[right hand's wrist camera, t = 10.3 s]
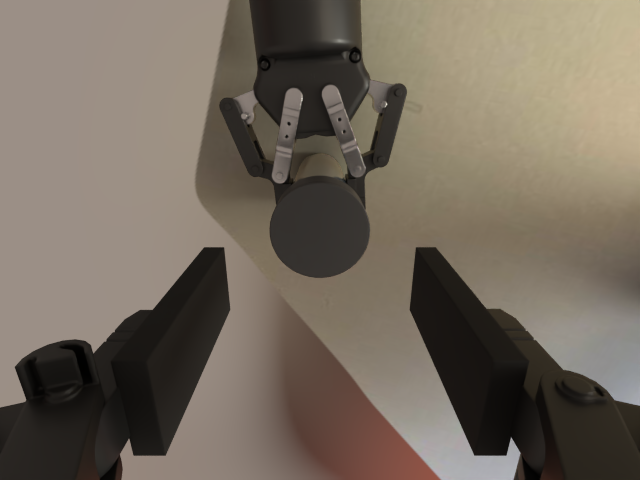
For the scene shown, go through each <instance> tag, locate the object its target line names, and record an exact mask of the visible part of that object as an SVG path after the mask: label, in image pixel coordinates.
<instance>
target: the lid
mask: <svg viewBox="0 0 640 480" xmlns="http://www.w3.org/2000/svg"><path fill="white" fill-rule="evenodd" d="M369 237H370V224H369V219H368V216H367V213H366V211H365V208H364V206H363V204H362V202H361V200H360V198H359V196H358V195H357V193H356V192H355V191H354V190H353V189H352V188H351V187H350V186H349V185H348V184H346V183H344V182H343V181H341V180H339V179H336V178H333V177H329V176H310V177H306V178H303V179H301V180H299V181H297V182H295V183H294V184H292V185H291V186H290V187H289V188H287V189H286V190H285V192H284V193H283V194H282V196H281V197H280V199H279V201H278V203H277V205H276V208H275V210H274V212H273V215H272V218H271V222H270V239H271V243H272V246H273V248H274V250H275V252H276V254H277V256H278V257H279V258H280V260H281V261H282V262H283V263H284V264H285V265H286V266H287V267H289V268H290V269H292V270H293V271H295V272H297V273H299V274H302V275H305V276H308V277H315V278H324V277H331V276H335V275H338V274H340V273H343V272H345V271H346V270H348V269H349V268H351V267H352V266H353V265H354V264H356V263H357V261H358V260H359V259H360V258H361V257H362V255H363V254H364V252H365V250H366V247H367V245H368V241H369Z"/></svg>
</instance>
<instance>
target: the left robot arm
mask: <svg viewBox="0 0 640 480" xmlns="http://www.w3.org/2000/svg"><path fill="white" fill-rule="evenodd" d="M249 1H250V9H251V17H252V25H253V33H254V41H255V49H256V57H257V65H258V72H257V77H256V80H255V83H254V88H253V90H252V91H249V92H247V93H245V94H242V95H240V96H237V97H235V98H224V99H222V100H221V102H220V110H221V112H222V115H223V117H224V119H225V121H226V124H227V126H228V128H229V130H230V132H231V135H232V137H233V139H234V141H235V144H236V146H237V148H238V150H239V153H240V155H241V157H242V159H243V161H244V164H245V166H246V168H247V170H248V173H249V174H250V175H251V176H254V177H258V176H259V177H262V178H266V179H269V180H270V181H271V182H272V183H273V185H274V190H275V198H276V205H277V203H278V201H279V199H280V197H281V196H282V194H283V193H284V192H285V190H286V189H287V188H289V187H290V186H291V185H292V184H293V178H291V179H290V169H291V164H292V159H293V154H294V150H295V145H296V140H297V139H301V138H307V137H310V136H312V135H315V134H316V135H322V136H336V137H337V140H338V142H339V145H340V148H341V150H342V153H343V156H344V158H345V161H346V164H347V171H348V174H345V180H346V184H348V185H349V186H350V187H351V188H352V189H353V190H354V191H355V192H356V193H357V195H358V196H359V198H360V200H361V202H362V204H363V206H364V208H365V181H364V180H365V176H366V174H367V173H368V172H369V171H371V170H373V169H375V168H378V167H384V166H386V165H387V163H388V161H389V157H390V154H391V150H392V146H393V143H394V139H395V135H396V132H397V128H398V124H399V120H400V117H401V113H402V109H403V106H404V102H405V98H406V94H407V90H406V87H405V86H404V85H403V84H393V85H391V84H387V83H383V82H378V81H374V80H370V76H369V74H368V72H367V70H366V69H365V66H364V63H363V58H362V34H361V5H360V0H249ZM366 94H369V95H370V96H371V97H372V100H373V103H372V107H373V109H374V111H375V112H377V113H379V116H378V120H377V124H376V128H375V132H374V136H373V140H372V144H371V148H370V151H368V152H366V153H364V154H362V155H361V154H360V151H359V148H358V145H357V141H356V139H355V136H354V133H353V130H352V127H351V125H350V121H351V119H352V118H353V116H354V114H355V113H356V111H357V109H358V108H359V106H360V104H361V103H362V101H363V99H364V98H365V96H366ZM258 103H259V104H260V105H261V106H262V107H263V108H264V109H265V111H266V112H267V113H268V114H269V115H270V117H271V118H272V119H273V120H274V121H275V122H276V124H277V125H278V126H279V127H280V129H279V135H278V140H277V146H276V154H275V160H274V161H270V160H266V158H265V156H264V154H263V151H262V149H261V147H260V144H259V142H258V140H257V137H256V135H255V133H254V130H253V128H252V125H251V123H253V122H254V121H255V119H256V113H255V107H256V105H257V104H258ZM365 209H366V208H365Z"/></svg>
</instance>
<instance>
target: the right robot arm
mask: <svg viewBox="0 0 640 480" xmlns="http://www.w3.org/2000/svg"><path fill="white" fill-rule="evenodd" d="M229 311H230V303H229V292H228V282H227V272H226V262H225V252H224V247H205V248H203V250H202V251H201V252H200V253H199V254H198V256H197V257H196V258H195V259H194V260H193V262H192V263H191V264H190V265H189V267H188V268H187V269H186V270H185V271H184V273H183V274H182V275H181V276H180V277H179V279H178V280H177V281H176V282H175V284H174V285H173V286H172V287H171V288H170V290H169V291H168V292H167V293H166V294H165V296H164V297H163V298H162V299H161V301H160V302H159V303H158V304H157V305H156V307H155V308H154V309H153V310H139V311H138V312H136V313H135V314H133V315H131V316H130V317H128V318H126V319H125V320H124V321H123V322H122V323H121V324H120V325H119V326H118V328H117V329H116V330H115V332H113V333H112V334H111V335H110V336H109V337H108V338H107V341H106V342H104V343H103V344H102V345H101V346H100V347H99V348H98V349H97V350H96V351H95V353H94V354H93V352H92V348H91V345H90V344H89V343H87V342H86V341H82V340H65V341H60V342H56V343H53V344H49V345H46V346H44V347H42V348H40V349H37V350H35V351H33V352H32V353H30V354H29V355H27V356H26V357H24V358H23V359H22V360H21V361H20V362H19V363H18V364H17V365H16V366H15V369H16V372H17V375H18V377H19V380H20V383H21V386H22V388H23V391H24V394H25V397H26V402H24V403H19V404H15V405H10V406H6V407H1V408H0V480H121V478H122V462H121V458H120V453H121V451H122V449H123V448H124V446H125V444H126V443H127V441H128V439H130V443H131V447H132V451H133V455H134V456H142V455H143V456H146V455H147V456H149V455H150V456H165V455H166V453H167V451H168V449H169V447H170V444H171V442H172V440H173V438H174V435H175V433H176V431H177V428H178V426H179V424H180V421H181V419H182V417H183V415H184V413H185V410H186V408H187V406H188V404H189V401H190V399H191V397H192V395H193V392H194V390H195V388H196V386H197V383H198V381H199V379H200V377H201V374H202V372H203V370H204V368H205V365H206V363H207V361H208V358H209V356H210V354H211V352H212V350H213V347H214V345H215V343H216V340H217V338H218V336H219V334H220V331H221V329H222V327H223V325H224V322H225V320H226V318H227V316H228V313H229ZM410 311H411V313H412V316H413V318H414V320H415V322H416V325H417V327H418V329H419V331H420V334H421V336H422V338H423V340H424V343H425V345H426V347H427V350H428V352H429V354H430V356H431V359H432V361H433V363H434V365H435V368H436V370H437V372H438V374H439V377H440V379H441V381H442V383H443V386H444V388H445V390H446V392H447V395H448V397H449V399H450V401H451V404H452V406H453V408H454V410H455V413H456V415H457V417H458V419H459V422H460V424H461V426H462V428H463V431H464V433H465V435H466V438H467V440H468V442H469V444H470V447H471V449H472V451H473V453H474V456H506V455H507V451H508V447H509V443H510V439H511V437H512V439H513V441H514V442H515V444H516V446H517V448H518V449H519V451H520V453H521V454H520V458H519V461H518V465H517V469H516V473H515V476H514V480H640V406H638V405H633V404H629V403H624V402H619V401H615V400H614V399H613V398H612V397H611V395H610V394H609V393H608V391H607V390H606V389H604V388H603V387H602V386H601V385H599V384H598V383H597V382H595V381H593V380H591V379H589V378H587V377H585V376H583V375H581V374H578V373H574V372H571V371H567V370H563V369H562V368H561V367H560V366H559V365H558V364H557V363H556V362H555V361H554V359H553V358H552V357H551V356H550V355H549V354H548V353H547V352H546V351H545V350H544V349H543V348H542V346H541V345H540V344H539V343H538V342H537V341H536V340H534V338H533V337H532V336H531V335H530V334H529V332H528V331H525V328H524V327H523V326H522V325H521V324H520V323H519V322H518V321H517V319H516V318H514V317H513V316H511V315H509V314H508V313H506V312H504V311H503V310H501V309H486V308H485V307H484V305H483V304H482V303H481V302H480V301H479V299H478V298H477V297H476V296H475V294H474V293H473V292H472V291H471V290H470V288H469V287H468V286H467V285H466V284H465V282H464V281H463V280H462V279H461V277H460V276H459V275H458V274H457V273H456V271H455V270H454V269H453V268H452V267H451V265H450V264H449V263H448V262H447V260H446V259H445V258H444V257H443V256H442V254H441V253H440V252H439V251H438V250H437V248H436V247H416V252H415V262H414V272H413V282H412V292H411V302H410Z"/></svg>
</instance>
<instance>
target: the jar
mask: <svg viewBox="0 0 640 480" xmlns="http://www.w3.org/2000/svg"><path fill="white" fill-rule="evenodd" d="M310 176H329V177H333V178H336V179H339V180H341V181H343V182H344V183H346V181H345V178H344V175H343V172H342V169H341V167H340V165H339V163H338V162H337V160H336V159H334V158H333V157H332V156H330V155H328V154H324V153H316V154H312V155H310V156H308V157H307V158H305V159H304V160H303V162H302V163H301V165H300V166H299V169H298V172H297V175H296V178H295V180H294V183H295V182H297V181H299V180H301V179H303V178H306V177H310ZM294 183H293V184H294Z"/></svg>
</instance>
